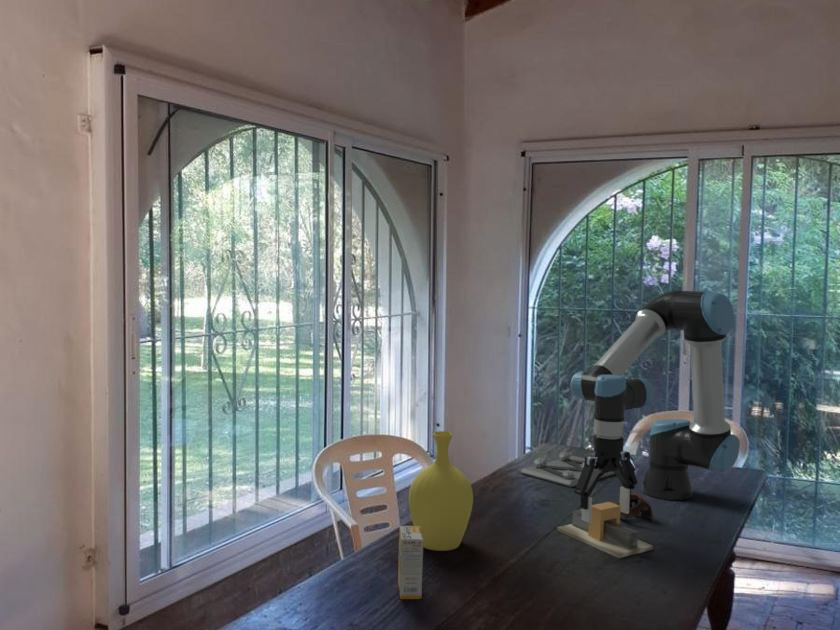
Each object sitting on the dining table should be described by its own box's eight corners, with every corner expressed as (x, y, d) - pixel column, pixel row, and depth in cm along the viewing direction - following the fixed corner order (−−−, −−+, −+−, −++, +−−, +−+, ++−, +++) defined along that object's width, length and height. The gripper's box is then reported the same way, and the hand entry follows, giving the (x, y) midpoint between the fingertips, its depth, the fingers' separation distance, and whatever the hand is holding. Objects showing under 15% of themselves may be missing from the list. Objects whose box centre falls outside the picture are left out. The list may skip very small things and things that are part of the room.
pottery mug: (659, 527, 221) (649, 503, 219) (627, 539, 223) (616, 516, 220) (649, 503, 232) (639, 480, 230) (618, 515, 234) (608, 492, 232)
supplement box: (396, 583, 177) (398, 525, 176) (418, 583, 177) (420, 525, 176) (399, 599, 168) (400, 538, 167) (422, 599, 169) (423, 538, 168)
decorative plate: (571, 461, 291) (572, 442, 290) (623, 474, 275) (625, 453, 275) (518, 475, 270) (519, 454, 269) (571, 490, 254) (572, 467, 254)
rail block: (589, 523, 221) (590, 505, 220) (652, 549, 202) (653, 530, 202) (557, 530, 214) (557, 512, 214) (618, 558, 196) (619, 538, 195)
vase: (478, 537, 207) (482, 430, 205) (461, 559, 192) (465, 443, 190) (419, 529, 212) (422, 424, 210) (398, 549, 197) (401, 436, 195)
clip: (607, 531, 212) (609, 501, 211) (619, 536, 208) (620, 506, 208) (588, 535, 208) (589, 505, 207) (599, 540, 205) (601, 509, 204)
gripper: (631, 427, 216) (628, 504, 218) (562, 438, 203) (559, 520, 204) (653, 433, 210) (650, 512, 212) (583, 444, 196) (580, 529, 198)
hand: (605, 516), depth 208 cm, fingers open, 13 cm apart
